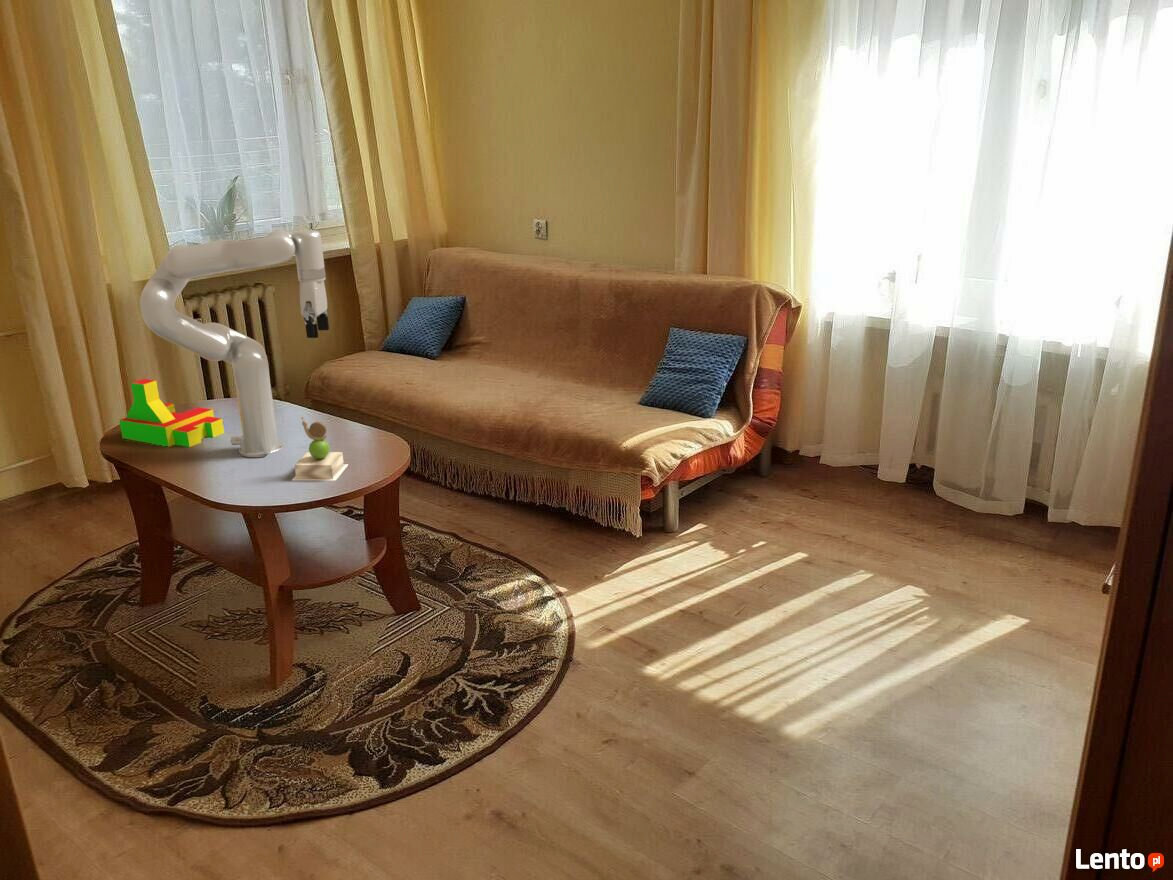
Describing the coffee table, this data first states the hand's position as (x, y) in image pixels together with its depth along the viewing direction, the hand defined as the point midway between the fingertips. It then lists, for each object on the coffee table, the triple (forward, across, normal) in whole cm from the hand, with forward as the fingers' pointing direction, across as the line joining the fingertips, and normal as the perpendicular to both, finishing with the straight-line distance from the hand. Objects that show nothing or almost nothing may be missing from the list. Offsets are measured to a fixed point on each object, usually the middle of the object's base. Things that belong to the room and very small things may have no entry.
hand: (318, 333), depth 269 cm
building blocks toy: (+34, -6, -51) cm, 61 cm away
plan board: (+33, +27, +3) cm, 43 cm away
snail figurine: (+28, +28, +6) cm, 40 cm away
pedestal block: (+32, +28, +6) cm, 43 cm away
